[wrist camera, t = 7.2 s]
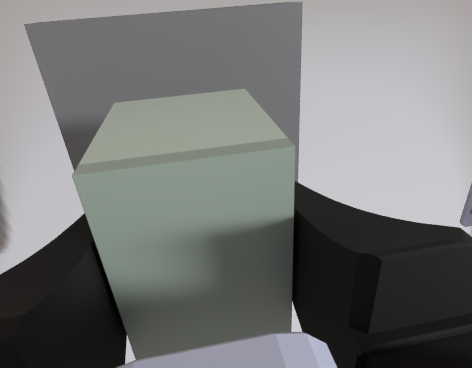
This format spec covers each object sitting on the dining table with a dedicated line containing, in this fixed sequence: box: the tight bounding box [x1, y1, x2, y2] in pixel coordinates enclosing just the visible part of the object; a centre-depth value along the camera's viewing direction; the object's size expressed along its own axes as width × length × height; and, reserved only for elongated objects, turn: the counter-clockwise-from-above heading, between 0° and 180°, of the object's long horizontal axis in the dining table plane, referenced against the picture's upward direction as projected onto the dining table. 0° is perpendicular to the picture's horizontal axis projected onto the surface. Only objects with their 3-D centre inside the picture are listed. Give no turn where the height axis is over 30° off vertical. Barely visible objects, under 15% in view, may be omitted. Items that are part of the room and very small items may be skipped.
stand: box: [24, 2, 302, 182], centre depth 18 cm, size 12×12×2 cm
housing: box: [72, 89, 295, 360], centre depth 11 cm, size 4×7×6 cm, turn 4°
